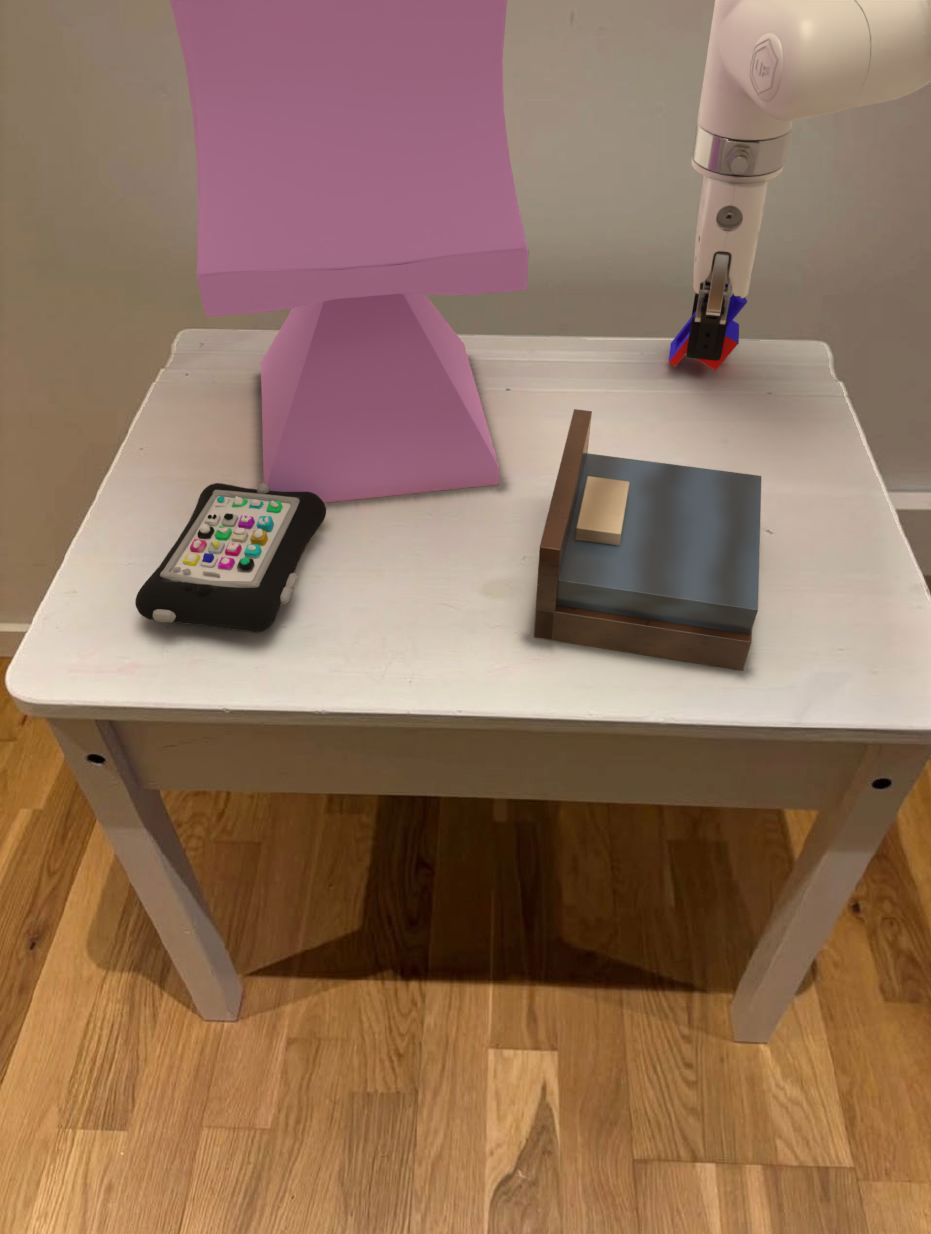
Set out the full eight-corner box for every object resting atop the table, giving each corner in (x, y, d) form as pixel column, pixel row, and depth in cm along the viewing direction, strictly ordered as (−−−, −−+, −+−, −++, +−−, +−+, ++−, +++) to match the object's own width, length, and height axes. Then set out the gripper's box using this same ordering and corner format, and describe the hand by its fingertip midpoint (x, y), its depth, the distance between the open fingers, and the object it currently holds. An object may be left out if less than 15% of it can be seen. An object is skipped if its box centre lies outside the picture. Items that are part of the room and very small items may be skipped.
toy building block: (704, 384, 96) (758, 320, 90) (668, 362, 95) (719, 297, 89) (705, 364, 98) (758, 301, 92) (670, 343, 97) (720, 278, 92)
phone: (333, 517, 81) (327, 474, 78) (278, 654, 71) (268, 612, 68) (209, 503, 83) (198, 461, 79) (137, 636, 72) (121, 594, 69)
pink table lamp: (518, 493, 83) (547, -190, 50) (250, 521, 81) (97, -174, 48) (475, 350, 98) (477, -248, 66) (249, 370, 96) (132, -238, 63)
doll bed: (748, 523, 81) (773, 433, 74) (742, 670, 70) (771, 580, 63) (566, 498, 83) (574, 408, 76) (533, 637, 72) (539, 547, 66)
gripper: (787, 192, 75) (741, 398, 89) (786, 114, 87) (746, 307, 100) (687, 185, 77) (657, 389, 90) (699, 108, 88) (671, 300, 101)
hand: (704, 344), depth 95 cm, fingers closed on toy building block, 3 cm apart
